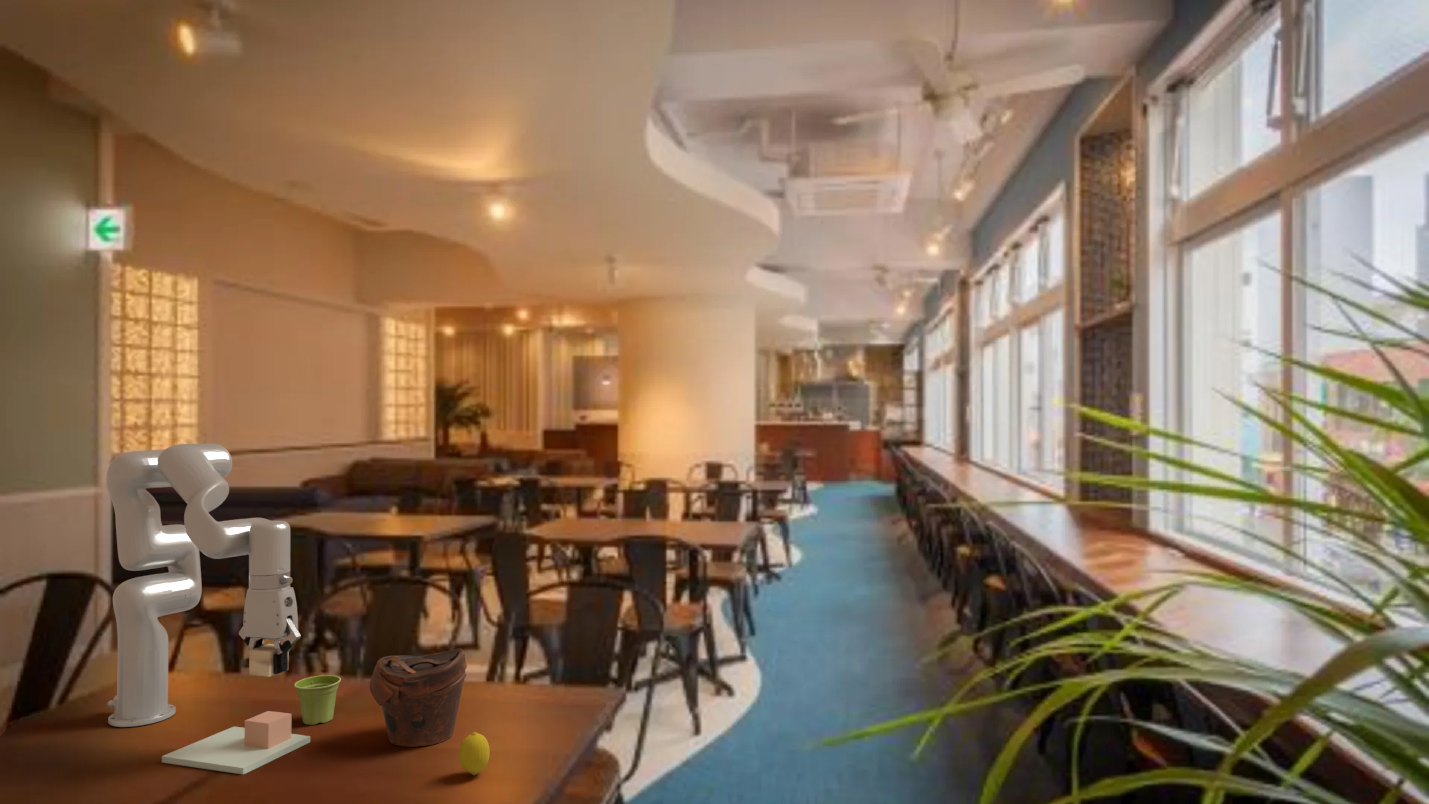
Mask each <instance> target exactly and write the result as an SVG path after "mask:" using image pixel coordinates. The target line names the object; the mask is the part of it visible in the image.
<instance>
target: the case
mask: <svg viewBox="0 0 1429 804" xmlns="http://www.w3.org/2000/svg"><path fill="white" fill-rule="evenodd" d="M467 667H468V666H467V661H466V655H465V651H464V650H463V648H460V647H459V648H456V649H453V650H448V651H443V652H439V653H435V654H428V655H423V656H421V655H406V654H405V655H402V654H399V655H387V656H382V657H381V658H379V659H378V660H377V662H376V664H375V666H374V669H373V671H372V675H371V677H370V681H369V691H370V694H371V696H372V697H373V700H375V701H376V703H377V704H378V706H381V709H382V713H383V718H384V722H385V723H384V724H385V727H386V732H387V735H388V741H389V742H390V743H391V744H392V745H395V746H399V747H406V748H407V747H408V748H415V747H416V748H417V747H426V746H431V745H436V744H440V743H442V742H445V741H447V740H449V739H450V738H451V737H452V736H453V734H454V731H455V728H456V727H455V726H456V721H457V716H458V711H459V705H460V701H461V697H462V696H461V694H462V690H463V686H464V685H463V684H464V682H465V679H466V676H467V672H466V670H467Z"/></svg>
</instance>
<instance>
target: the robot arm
mask: <svg viewBox="0 0 1429 804" xmlns="http://www.w3.org/2000/svg"><path fill="white" fill-rule="evenodd" d="M232 469H233V458H232V455H231V453H230V452H229V451H228V449H227V448H226V447H225V446H223V445H221V444H218V443H214V442H211V443H182V444H181V443H180V444H179V443H178V444H173V445H172V446H169V447H167V448H165V449H162V450H161V449H153V450H152V449H151V450H137V451H136V450H135V451H129V452H125V453H121V454H119V455H117V456H115V458H113V459H112V461H111V462H110V463H109V466H108V467H107V471H106V487H107V491H108V494H109V498H110V499H111V502H112V506H113V508H114V509H113V510H114V514H115V529H116V531H115V532H116V544H117V556H118V561H119V564H120V565H121V567H122V568H123V569H124V570H127V571H131V572H132V571H133V572H135V571H147V570H151V569H152V570H153V569H159V568H166V567H167V569H168V572H163V573H155V574H154V573H153V574H148V575H143V576H136V577H134V578H133V577H132V578H130V579H127V580H125V581H123V582H122V583H120V584H118V586H117V587H116V588H115V590H114V592H113V595H112V606H113V611H114V616H115V621H116V631H117V665H116V666H117V671H116V672H117V674H116V676H117V679H116V695H115V696H114V697H113V700H112V699H111V700H109V701H108V702H107V707H109V708H114V709H113V710H114V711H113V713H112V714H110V715H109V716H108V718H107V719H108V720H107V723H108V725H110V726H112V727H117V728H118V727H119V728H128V727H129V728H131V727H140V726H146V725H151V724H155V723H159V722H161V721H164V720H167V719H168V718H169V719H170V718H171V717H172V716H174V715H175V714H176V713H177V711H176V710H177V708H176V706H175V705H173V704H170V703H169V635H168V631H167V630H166V628H165V627H164V626H163V625H162V623H160V621H159V619H158V618H159V617H163V616H167V615H172V614H176V613H177V614H178V613H183V612H186V611H189V610H192V609H194V608H195V607H196V606H197V605H199V602H200V601H201V597H202V591H203V589H202V588H203V587H202V572H201V557H200V552H201V553H202V554H203V555H205V556H206V557H208V558H211V559H215V560H217V559H218V560H221V559H228V558H233V557H240V556H247V555H248V588H247V590H246V596H245V601H244V608H243V620H242V621H243V622H242V623H243V626H242V627H241V629H240V630H239V632H238V636H240V637H241V638H242V640H243V641H244V643H245V644H246V646H247V647H248V648H247V651H248V652H249V651H250V650H251V649H254V648H258V647H261V646H264V645H265V640H272V642H273V644H274V646H275V650H276V653H277V654H274V674H276V675H278V674H281V673H284V672H287V671H288V670H289V652H290V651H291V650H292V649H291V648H292V647H293V646H294V645H295V643H297V642H298V641H299V640H300V639H301V637H302V636H301V633H300V632H299V617H298V606H297V605H298V604H297V599H296V593H295V590H294V587H291V584H292V583H293V577H291V525H290V524H289V523H288V522H287V521H285V520H270V519H267V518H263V517H250V518H238V519H229V520H222V521H221V520H220V521H217V520H216V519H215V518H214V517H213V516H212V515H211V514H210V512H212V511H214V510H215V509H216V508H218V507H219V506H221V505H222V504H223V502H225V501H226V500H227V497H228V496H229V493H230V486H229V483H228V481H227V480H226V479H225V478H227V476H228V475H229V474H230V473H231V471H232ZM169 487H171V488H173V489H174V490H175V492H176V493H177V494H178V495H179V496H180V497H181V499H182V500H183V501H184V502H185V503H186V504H187V505H186V507H185V510H184V514H183V515H184V516H183V520H184V523H183V524H178V523H177V524H168V525H163V524H162V519H161V507H160V504H159V502H157V500H156V499H155V497H154V496H153V495H152V494H151V493H150V492H149V491H148V490H147V489H154V488H169ZM281 641H282V642H281ZM287 669H288V670H287Z"/></svg>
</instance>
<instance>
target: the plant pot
mask: <svg viewBox="0 0 1429 804" xmlns="http://www.w3.org/2000/svg"><path fill="white" fill-rule="evenodd" d="M341 681H342V678H341V677H340V676H338V675H335V674H334V675H332V674H330V675H329V674H328V675H327V674H323V675H314V676H310V677H309V676H308V677H305V678H302V679H300V680H298V681H296V682H294V686H293V687H294V688H295V690H296V692H297V694H298V698H299V699H298V700H299V706H300V711H301V719H302V723H303V724H304V725H309V726H310V725H311V726H313V725H314V726H315V725H317V724H319V723H321V724H325V723H328V722H330V721H331V720H333V719H334V712H335V706H336V698H337V691H338V689H339V685H340V683H341Z"/></svg>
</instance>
